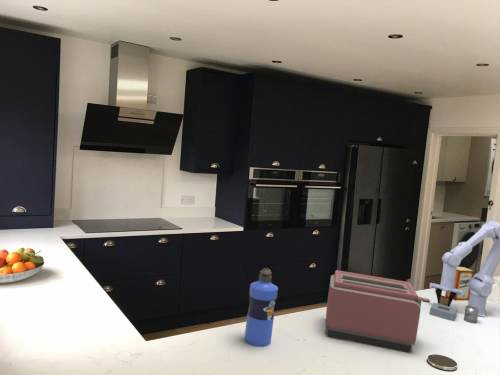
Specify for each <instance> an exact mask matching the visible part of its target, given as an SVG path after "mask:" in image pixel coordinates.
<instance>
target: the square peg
mask: <svg viewBox="0 0 500 375" xmlns="http://www.w3.org/2000/svg"><path fill="white" fill-rule="evenodd" d="M448 303H449V297H447V296H445V295H442V294H441V297H440V303H439V304H442V305H445V306H448Z"/></svg>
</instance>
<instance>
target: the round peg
mask: <svg viewBox="0 0 500 375" xmlns="http://www.w3.org/2000/svg"><path fill="white" fill-rule="evenodd" d="M478 312H479V309H478V308H476V307H473V306H468V305H465V309H464V316H463V320H464V321H465V322H466V323H469V324H477V323H478V318H479V316H478Z"/></svg>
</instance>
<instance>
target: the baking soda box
mask: <svg viewBox="0 0 500 375" xmlns="http://www.w3.org/2000/svg"><path fill="white" fill-rule="evenodd" d="M474 273H475V270H472V269H470V268H467V267H465V266H457V270H456V276H455V282H454V288H456V289H459V290H462V291H464V294H463V296H461V295H459V294H456V296H455V298H454V299H453V300H452V301H469V296H470V288H469V286H468V283H469V281H470V280H471V279H472V278H473V277H474V275H475V274H474ZM450 293H451V292H447V291H445V295H444V296H446V297H449V296H450Z"/></svg>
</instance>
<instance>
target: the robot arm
mask: <svg viewBox="0 0 500 375" xmlns="http://www.w3.org/2000/svg"><path fill="white" fill-rule="evenodd" d="M486 238H491V240H492V242H493V243H492V245H491V247H490V250H489V252H488V254H487V256H486V258H485V260H484V262H483V264H482V266H481V267H480V270H479V271H478V272H477V273H475V274H473V278H472V279H471V280H470V281H469V283H468V286H469V288H470V296H469V300H468V302H467V306H473V307H476V308H478V309H479V312H478V317H481V318H485V316H486V312H487V311H486V306H487V299H488V296H490V295H491V294H492V292H493V285H494V281H493V278H492V277H493V275H494V273H495V272H496V269H497V268H498V266H499V264H500V222H499V221H496V220H488V221H486V222H485V223H484V224H482V226H481V227H480V228H479V230H478V231H476V232H475V233H474V235H472V236H471V237H470V238H469V239H468V240H467V241H461V242H458V245H457V246H455V247H454V248H453V249H451V250H450V251H447V252H445V253H444V254H443V255H442V257H441V260H442V262H443V264H442V265H443V266H442V272H441V278H440V284H439V283H435V282H433V283H432V282H430V283H429V288H430V289H435V291H434V293H435V295H436V298H437V300H436V301H437V303H438V304H439V303H440V297H441V295H442V294H443V291H444V292H446V291H447V292H451V293H450V296H449V303H448V306H449V307H451V304H452V302H453V301H454V300H453V299H454V298H455V296H456V294H459V295H461V296H463V294H464V291H462V290H459V289H456V288H454V282H455V276H456V270H457V267H459V266H460V264H461V261H463V259H464V258H466V256H469V254H470V253H471V252H472V251H473V248H474V247H475V246H477V245H478V244H479V243H481V242H482V241H484V240H485V239H486Z"/></svg>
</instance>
